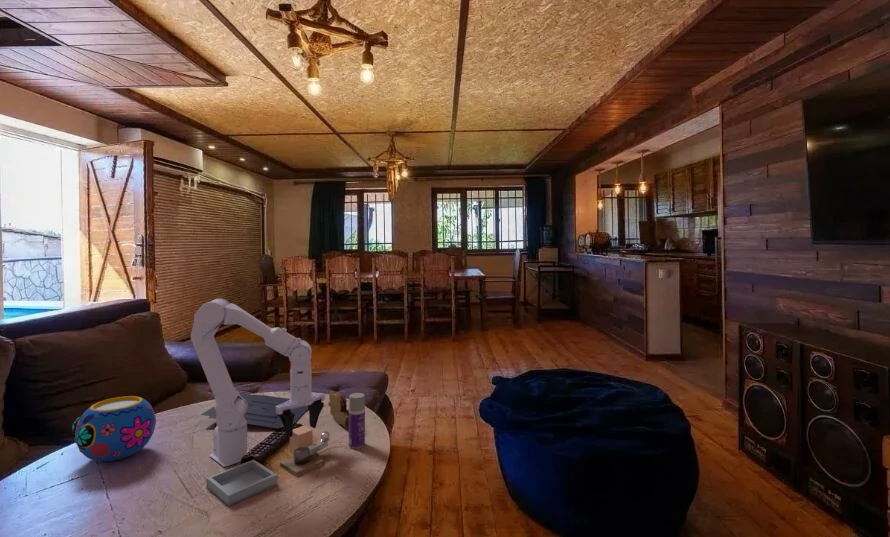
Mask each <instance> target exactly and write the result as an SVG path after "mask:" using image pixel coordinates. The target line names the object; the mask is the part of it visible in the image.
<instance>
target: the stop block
mask: <svg viewBox="0 0 890 537" xmlns="http://www.w3.org/2000/svg"><path fill="white" fill-rule="evenodd" d="M312 444H313V429H311V428H309V427H307V426H305V425H302V426H299V427H297V428H293V435H292V437H289V452H290V451H291V452H290V453H292V454H294V450H295V449H297V448H300V447H309V446H311V445H312Z"/></svg>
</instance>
